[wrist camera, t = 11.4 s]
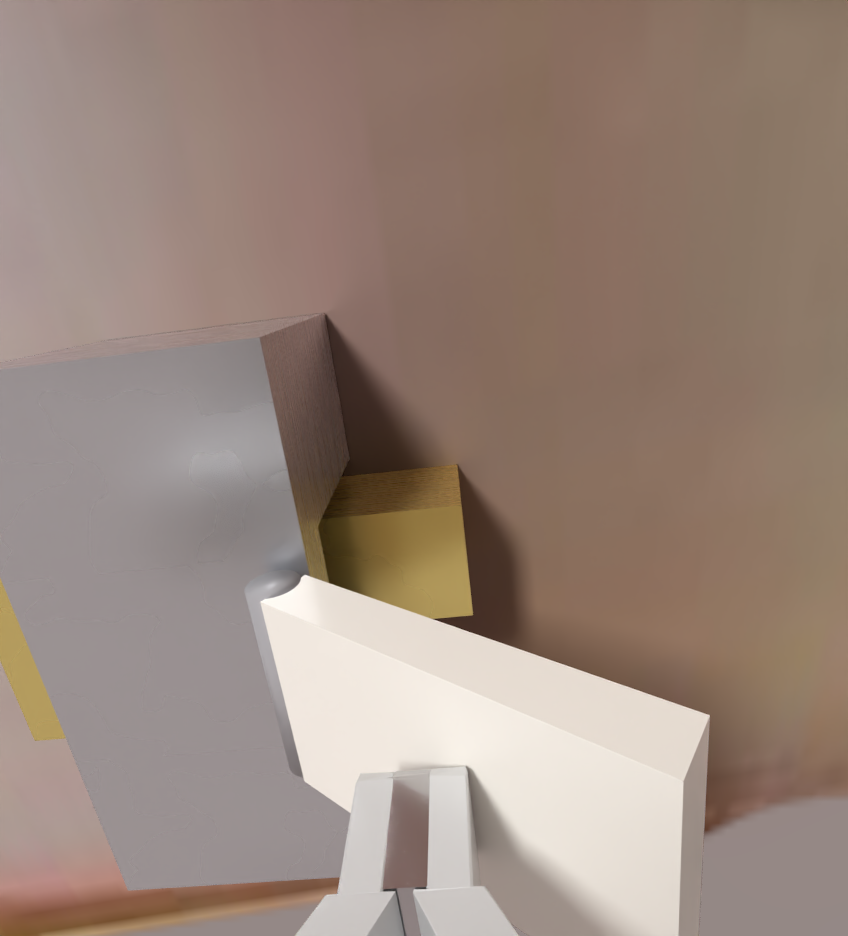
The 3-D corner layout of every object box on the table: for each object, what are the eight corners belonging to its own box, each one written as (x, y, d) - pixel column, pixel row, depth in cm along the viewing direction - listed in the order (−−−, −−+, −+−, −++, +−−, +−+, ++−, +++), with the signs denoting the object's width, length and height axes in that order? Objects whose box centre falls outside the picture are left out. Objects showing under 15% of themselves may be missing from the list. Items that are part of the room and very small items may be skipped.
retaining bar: (278, 763, 12) (675, 1036, 7) (233, 590, 10) (683, 781, 6) (316, 730, 12) (697, 958, 8) (278, 565, 11) (709, 714, 6)
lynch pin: (140, 618, 18) (35, 740, 13) (91, 470, 17) (-48, 550, 12) (470, 587, 17) (482, 704, 13) (453, 430, 16) (459, 497, 11)
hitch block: (215, 716, 19) (127, 890, 14) (103, 340, 15) (-81, 379, 10) (391, 702, 19) (373, 875, 13) (324, 313, 15) (259, 337, 9)
